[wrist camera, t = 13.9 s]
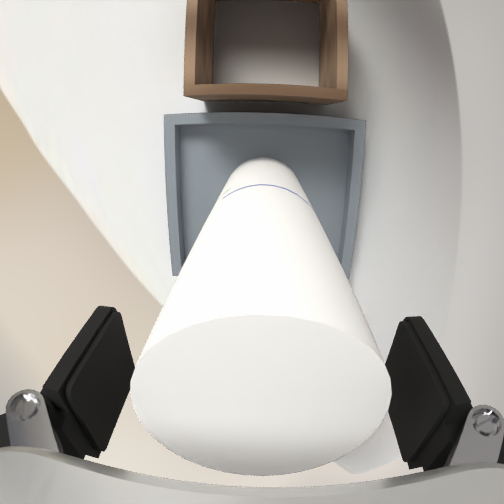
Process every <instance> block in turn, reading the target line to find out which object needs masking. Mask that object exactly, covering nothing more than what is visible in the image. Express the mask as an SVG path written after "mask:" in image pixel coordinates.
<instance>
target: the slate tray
mask: <svg viewBox="0 0 504 504" xmlns="http://www.w3.org/2000/svg"><path fill="white" fill-rule="evenodd" d="M365 128H366V120H358V119H349V118H340V117H329V116H318V115H304V114H286V113H258V112H211V113H183V114H166V115H164V149H165V177H166V197H167V214H168V228H169V241H170V253H171V264H172V274H173V276H178V275H179V273H180V271H181V269H182V267H183V265H184V263H185V261H186V259H187V257H188V255H189V253H190V251H191V249H192V247H193V245H194V243H195V241H196V239H197V237H198V236H199V234H200V232H201V230H202V228H203V226H204V224H205V222H206V220H207V218H208V216H209V215H210V213H211V211H212V209H213V207H214V205H215V203H216V201H217V200H218V198H219V196H220V194H221V192H222V190H223V188H224V187H225V185H226V183H227V181H228V179H229V178H230V176H231V174H232V173H233V172H234V170H235V169H236V168H237V167H238V166H239V165H241V164H242V163H244V162H246V161H248V160H250V159H253V158H260V157H265V158H272V159H276V160H278V161H280V162H282V163H284V164H285V165H286V166H288V167H289V168H290V169H291V170H292V171H293V173H294V174H295V176H296V178H297V179H298V181H299V183H300V185H301V187H302V189H303V191H304V193H305V194H306V196H307V198H308V200H309V202H310V204H311V206H312V208H313V210H314V212H315V214H316V216H317V218H318V220H319V221H320V223H321V225H322V227H323V229H324V231H325V233H326V235H327V237H328V239H329V241H330V243H331V246H332V248H333V250H334V252H335V254H336V256H337V258H338V260H339V262H340V264H341V266H342V268H343V270H344V273H345V275H346V277H347V279H349V273H350V267H351V261H352V254H353V247H354V240H355V233H356V225H357V217H358V209H359V200H360V191H361V181H362V170H363V158H364V144H365Z"/></svg>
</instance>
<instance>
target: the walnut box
mask: <svg viewBox="0 0 504 504" xmlns="http://www.w3.org/2000/svg"><path fill="white" fill-rule="evenodd" d="M215 1H220V0H187V9H186V27H185V53H184V96H186V97H190V98H194V99H198V100H201V101H279V102H298V103H312V104H324V105H328V104H333V103H338V102H343V101H347V95H348V11H347V0H281V1H297V2H309V3H319V26H320V51H319V87H314V86H300V85H283V84H247V83H235V84H212V82H213V40H214V13H215Z"/></svg>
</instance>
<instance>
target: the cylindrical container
mask: <svg viewBox="0 0 504 504" xmlns="http://www.w3.org/2000/svg"><path fill="white" fill-rule="evenodd" d="M130 392H131V393H130V395H131V402H132V405H133V408H134V411H135V413H136V415H137V417H138V418H139V420H140V421H141V423H142V425H143V426H144V428H145V429H146V430H147V431H148V432H149V433H150V434H151V435H152V436H153V437H154V438H155V439H156V440H157V441H158V442H160V443H161V444H162V445H163V446H165V447H166V448H167V449H169V450H170V451H172V452H174V453H175V454H177V455H179V456H181V457H182V458H184V459H187V460H189V461H191V462H194V463H196V464H199V465H201V466H204V467H207V468H211V469H215V470H218V471H222V472H228V473H234V474H242V475H258V476H268V475H283V474H290V473H296V472H301V471H305V470H309V469H313V468H316V467H319V466H322V465H325V464H327V463H330V462H332V461H334V460H337V459H339V458H341V457H342V456H344V455H346V454H348V453H349V452H351V451H353V450H354V449H356V448H357V447H358V446H359V445H361V444H362V443H363V442H364V441H366V440H367V439H368V438H369V437H370V436H371V435H372V434H373V433H374V431H375V430H376V429H377V428H378V427H379V425H380V424H381V423H382V421H383V419H384V417H385V415H386V413H387V411H388V409H389V405H390V400H391V395H392V390H391V379H390V376H389V374H388V371H387V369H386V366H385V364H384V361H383V359H382V356H381V354H380V352H379V349H378V347H377V344H376V342H375V340H374V337H373V335H372V333H371V330H370V328H369V326H368V323H367V321H366V319H365V316H364V314H363V312H362V310H361V307H360V305H359V303H358V301H357V299H356V296H355V294H354V292H353V290H352V288H351V285H350V283H349V281H348V279H347V277H346V275H345V273H344V270H343V268H342V266H341V264H340V262H339V260H338V258H337V256H336V254H335V252H334V250H333V248H332V246H331V243H330V241H329V239H328V237H327V235H326V233H325V231H324V229H323V227H322V225H321V223H320V221H319V220H318V218H317V216H316V214H315V212H314V210H313V208H312V206H311V204H310V202H309V200H308V198H307V196H306V194H305V193H304V191H303V189H302V187H301V185H300V183H299V181H298V179H297V178H296V176H295V174H294V173H293V171H292V170H291V169H290V168H289V167H288V166H286V165H285V164H284V163H282V162H280V161H278V160H276V159H272V158H265V157H260V158H253V159H250V160H248V161H246V162H244V163H242V164H241V165H239V166H238V167H237V168H236V169H235V170H234V172H233V173H232V174H231V176H230V178H229V179H228V181H227V183H226V185H225V187H224V188H223V190H222V192H221V194H220V196H219V198H218V200H217V201H216V203H215V205H214V207H213V209H212V211H211V213H210V215H209V216H208V218H207V220H206V222H205V224H204V226H203V228H202V230H201V232H200V234H199V236H198V237H197V239H196V241H195V243H194V245H193V247H192V249H191V251H190V253H189V255H188V257H187V259H186V261H185V263H184V265H183V267H182V269H181V271H180V273H179V275H178V277H177V279H176V281H175V283H174V285H173V287H172V289H171V291H170V293H169V295H168V297H167V299H166V302H165V304H164V306H163V308H162V310H161V312H160V314H159V316H158V318H157V320H156V323H155V325H154V327H153V329H152V331H151V333H150V336H149V338H148V340H147V342H146V344H145V346H144V349H143V351H142V353H141V355H140V357H139V360H138V362H137V364H136V367H135V370H134V372H133V375H132V378H131V381H130Z"/></svg>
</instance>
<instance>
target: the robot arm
mask: <svg viewBox="0 0 504 504" xmlns="http://www.w3.org/2000/svg"><path fill="white" fill-rule="evenodd" d="M385 366H386V369H387V371H388V374H389V376H390V379H391V390H392V395H391V400H390V405H389V409H388V412H389V415H390V419H391V422H392V425H393V428H394V432H395V435H396V438H397V442H398V445H399V449H400V452H401V456H402V459H403V461H404V462H407V463H408V466H409V469H414V468H418V467H423V470H424V472H419V473H415V474H410V475H404V476H399V477H393V478H386V479H381V480H374V481H367V482H359V483H350V484H342V485H341V484H340V485H329V486H313V487H283V488H282V487H275V488H274V487H242V486H225V485H214V484H205V483H196V482H188V481H181V480H174V479H168V478H162V477H156V476H150V475H145V474H141V473H136V472H131V471H126V470H123V469H118V468H114V467H110V466H106V465H102V464H98V463H94V462H91V461H87V460H84V457H85V455H89V456H92V457H95V458H99V455H100V453H101V451H105V450H106V448H107V446H108V443H109V440H110V438H111V435H112V433H113V430H114V428H115V425H116V423H117V420H118V418H119V415H120V413H121V410H122V408H123V405H124V403H125V400H126V398H127V395H128V393H129V391H130V381H131V378H132V375H133V372H134V370H135V366H134V363H133V359H132V355H131V351H130V348H129V344H128V340H127V336H126V332H125V328H124V325H123V320H122V316H121V314H120V312H117V310H116V309H115V308H114V307H107V306H98V307H97V308H96V310H95V311H94V313H93V314H92V316H91V317H90V318H89V319H88V321H87V322H86V324H85V325H84V326H83V328H82V329H81V330H80V332H79V333H78V335H77V336H76V338H75V339H74V340H73V342H72V343H71V345H70V346H69V348H68V349H67V351H66V352H65V353H64V355H63V356H62V358H61V359H60V361H59V362H58V364H57V365H56V367H55V368H54V370H53V371H52V373H51V375H50V376H49V378H48V379H47V381H46V382H45V384H44V385H43V389H42V391H41V392H40V393H39V392H37V391H35V390H31V389H27V390H22V391H19V392H17V393H15V394H14V395H13V396H12V397H11V398H10V399H9V400H8V402H7V405H6V413H5V414H2V415H0V504H504V418H503V417H502V415H501V413H500V412H499V411H497V410H496V409H495V408H493V407H491V406H487V405H478V406H476V407H474V408H473V407H472V405H471V400H470V398H469V397H468V395H467V393H466V391H465V389H464V387H463V385H462V384H461V382H460V380H459V378H458V376H457V374H456V373H455V371H454V369H453V367H452V366H451V364H450V362H449V360H448V359H447V357H446V355H445V353H444V352H443V350H442V348H441V347H440V345H439V343H438V342H437V340H436V338H435V337H434V335H433V333H432V332H431V330H430V329H429V327H428V325H427V324H426V322H425V321H424V319H423V318H422V317H420V316H417V317H405V319H404V320H403V321H401V322H400V323H399V325H398V328H397V331H396V334H395V337H394V340H393V343H392V346H391V349H390V352H389V355H388V358H387V361H386V363H385Z"/></svg>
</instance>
